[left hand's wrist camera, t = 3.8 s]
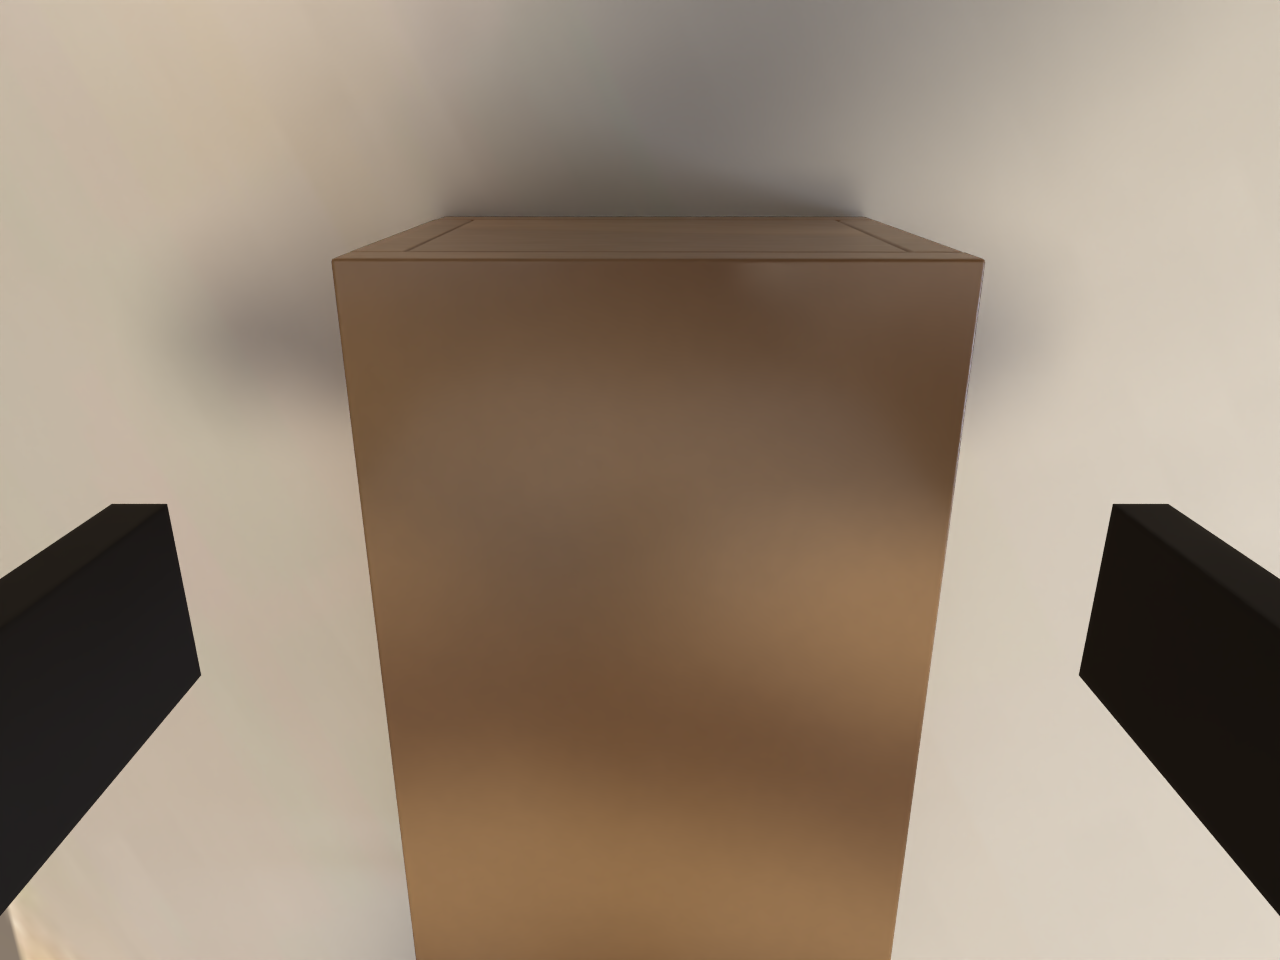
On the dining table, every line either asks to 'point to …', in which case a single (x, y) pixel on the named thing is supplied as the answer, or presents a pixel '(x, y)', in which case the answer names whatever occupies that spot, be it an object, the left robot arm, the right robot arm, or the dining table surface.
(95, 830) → the dining table surface
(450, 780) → the brown wooden box
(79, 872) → the dining table surface
